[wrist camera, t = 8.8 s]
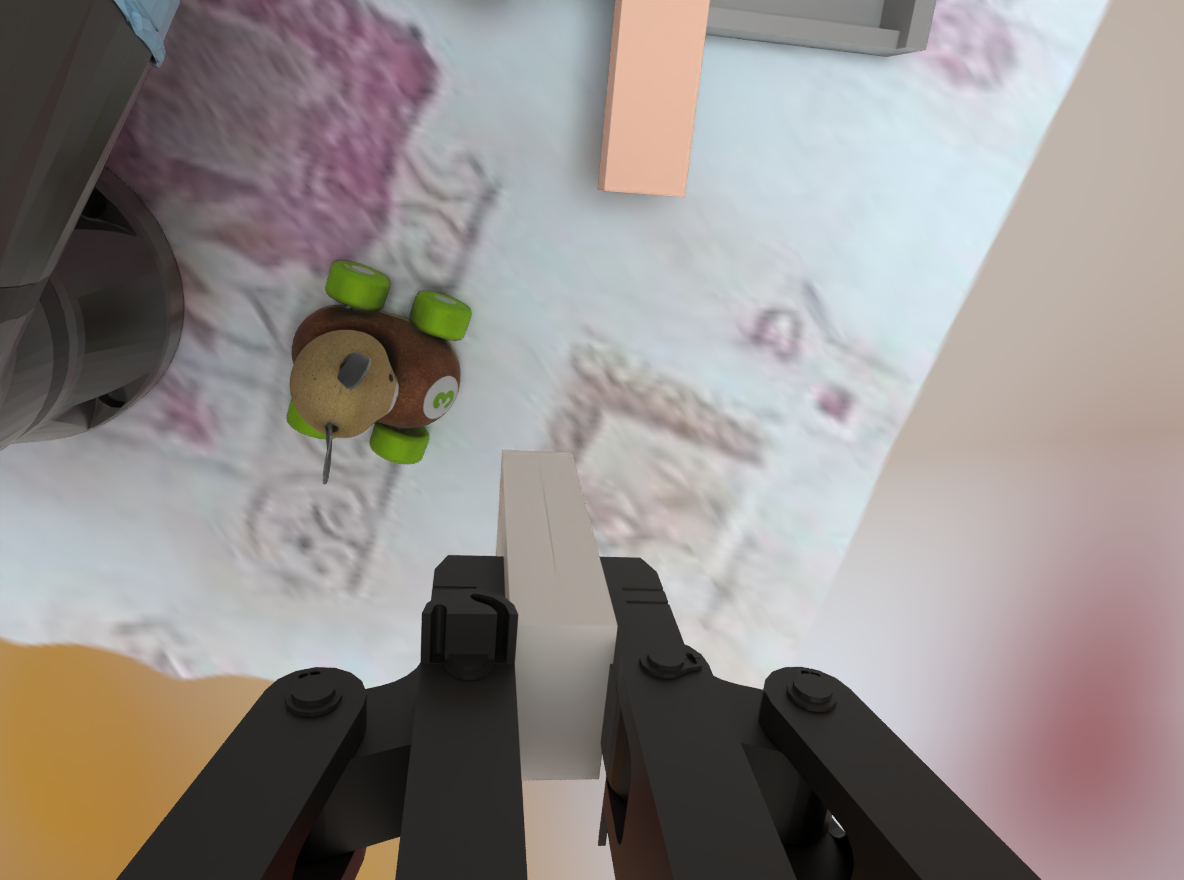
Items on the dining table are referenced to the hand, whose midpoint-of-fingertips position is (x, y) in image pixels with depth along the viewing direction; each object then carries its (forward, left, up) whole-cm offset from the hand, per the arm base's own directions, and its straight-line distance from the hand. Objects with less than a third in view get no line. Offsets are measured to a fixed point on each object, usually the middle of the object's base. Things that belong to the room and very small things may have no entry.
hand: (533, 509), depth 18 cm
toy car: (-6, -5, -29) cm, 30 cm away
